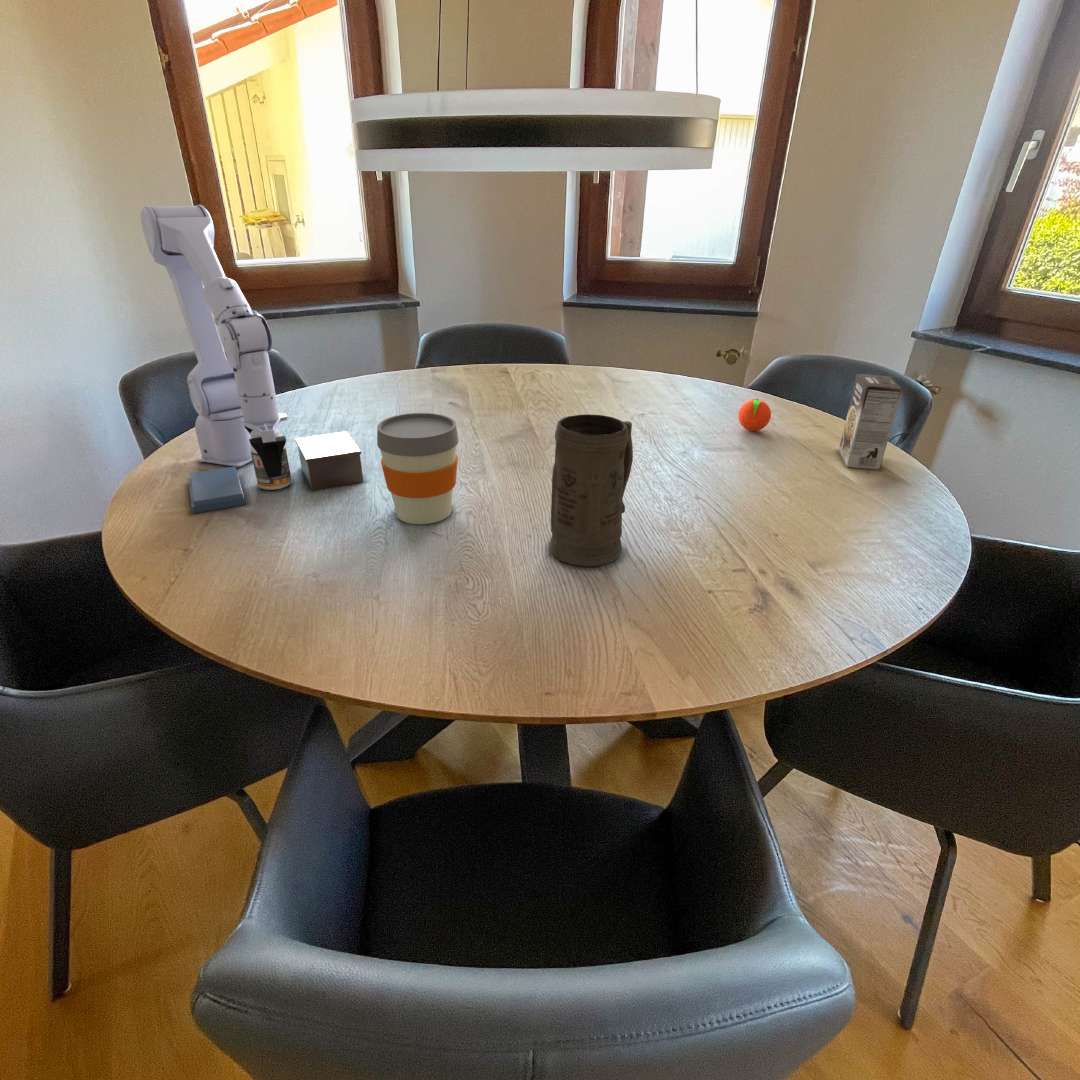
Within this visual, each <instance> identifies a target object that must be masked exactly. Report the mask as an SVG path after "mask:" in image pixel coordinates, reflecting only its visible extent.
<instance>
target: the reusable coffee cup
mask: <svg viewBox="0 0 1080 1080" xmlns="http://www.w3.org/2000/svg"><path fill="white" fill-rule="evenodd" d="M456 422H457V421H455V419H453V418H452V417H450V416H447V415H444V414H440V413H434V412H409V413H401V414H396V415H393V416H389V417H387V418H384V419H383V420H381V421H379V423H378V424H377V427H376V445H377V448H378V449H379V450H380V454H381V460H380V465H381V468H382V472H383V476H384V480H385V484H386V489H387V490H388V491H389V492H390V493H391V498H392V502H393V506H394V510H395V513H396V517H397V518H398V519H399V520H400V521H402V522H404V523H407V524H412V525H429V524H433V523H435V524H436V523H438V522H441V521H444V520H445V519H446V518H448V517H449V516H450V515H451V514H452V513H451V512H452V507H453V506H452V505H453V492H454V488H455V487H456V484H457V473H458V461H459V456H458V454H457V445H458V444H459V442H460V441H459V435H458V429H457V423H456Z"/></svg>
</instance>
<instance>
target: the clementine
mask: <svg viewBox="0 0 1080 1080" xmlns="http://www.w3.org/2000/svg"><path fill="white" fill-rule="evenodd" d="M737 414H738V415H737V418H738V422H739V424H740V426H741V427H742V428H743V429H745V430H747V431H750V432H757V431H760V430H763V429H764V428H766V426H768V425H769V423H770V420H771V418H772V410H771V407H770V406H769V404H768V403H767V402H766V401H764V400H763V399H759V398H757V399H756V398H753V399H749V400H747V401H746V402H744V403H743V404H742V405H741V406H740V408H739V410H738V413H737Z"/></svg>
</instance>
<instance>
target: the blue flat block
mask: <svg viewBox="0 0 1080 1080" xmlns="http://www.w3.org/2000/svg"><path fill="white" fill-rule="evenodd" d="M238 472H239V471H237V467H233V466H227V467H223V468H216V469H209V470H203V471H196V472H195V471H194V472H191V473H190V477H189V478H188V486H189V496H190V506H191V511H192V514H199V513H204V512H210V511H217V510H221V509H226V508H227V509H228V508H233V507H238V506H245V505H246V499H245V495H244V491H243V487H242V484H241V480H240V475H239V473H238Z"/></svg>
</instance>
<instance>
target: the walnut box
mask: <svg viewBox="0 0 1080 1080" xmlns="http://www.w3.org/2000/svg"><path fill="white" fill-rule="evenodd" d="M294 439H295V443H296V445H297V450H298V456H299V462H300V467H301V468H300V469H301V471H302V473H303V474H304V476H305V479H306V481H307V483H308V485H309V486H310V489H311V491H317V490H324V489H330V488H337V487H341V486H349V485H353V484H359V483H363V482H364V475H363V466H362V461H361V455H362V451H361V449H360V447H359V446H358V445H357V444H356V442H355V441H354V439H353V438H352V437H351V435H350V434H349V433H348V431H340V432H333V433H326V434H319V435H311V436H306V437H305V436H304V437H297V438H294Z"/></svg>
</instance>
